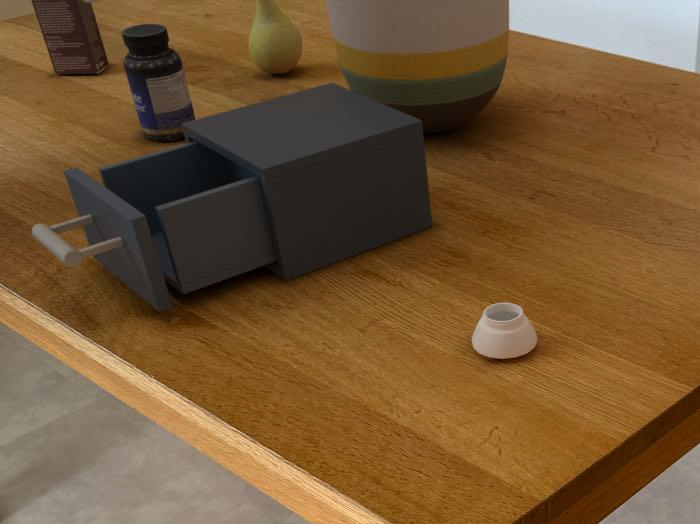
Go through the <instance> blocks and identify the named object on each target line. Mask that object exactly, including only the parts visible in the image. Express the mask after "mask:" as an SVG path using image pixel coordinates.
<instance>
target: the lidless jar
mask: <svg viewBox="0 0 700 524" xmlns="http://www.w3.org/2000/svg"><path fill="white" fill-rule="evenodd" d="M537 343H538V334H537V332H536V330H535V327H534V326H533V325H532V323H531V321H530V319H529V318H528V316H526V314H525V312H524V309H523V308H522V307H521V306H519V305H518V304H515V303H512V302H496V303H493V304H490V305H487V307H486V308H484V309H483V312H482V316H481V317H480V319H479V321H478V323H477V325H476V327H475V328H474V331H473V333H472V335H471V344H472V348H473V349H474V350H475V351H476V352H477V353H478V354H480V355H482V356H485V357H487V358H490V359H491V358H492V359H500V360H501V359H502V360H504V359H513V358H518V357H521V356H524V355H526V354H528V353H529V352H531V351H532V350H534V349H535V347H536V346H537Z"/></svg>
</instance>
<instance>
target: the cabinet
mask: <svg viewBox="0 0 700 524" xmlns="http://www.w3.org/2000/svg"><path fill="white" fill-rule="evenodd" d="M195 119H196V120H193V121H189V122H185V123H182V124H181V126H182V129H183V133H184V137H185V138H184V140H185V143H188V142H192V141H195V140H196V141H198V142H199V143H201V144H203V145H205V146H206V147H208V148H210V149H212V150H213V151H215V152H217V153H219V154H220V155H222V156H224V157H226V158H227V159H229V160H231V161H233V162H234V163H236V164H238V165H240V166H241V167H243V168H245V169H247V170H249V171H250V172H252V173H254V174H256V175H257V176H259V177H260V179H261V184H262V189H263V193H264V198H265V203H266V207H267V212H268V217H269V221H270V226H271V231H272V235H273V240H274V245H275V249H276V254H277V259H278V261H275V262H272V263H270V264H267V265H264V266H263V267H265V268H267V269H268V270H269V271H271V272H273V273H274V274H276V275H277V276H279V277H280V278H282V279H283V280H284V281H289V280H292V279H295V278H298V277H301V276H303V275H306V274H308V273H311V272H314V271H317V270H320V269H322V268H324V267H325V268H326V267H327V266H330V265H333V264H335V263H339V262H341V261H343V260H345V259H348V258H351V257H354V256H356V255H359V254H362V253H365V252H368V251H370V250H374V249H376V248H378V247H381V246H383V245H386V244H389V243H392V242H394V241H397V240H400V239H402V238H405V237H408V236H411V235H413V234H416V233H418V232H421V231H423V230H427V229H429V228H432V227H433V218H432V208H431V198H430V189H429V187H430V186H429V178H428V168H427V158H426V150H425V149H426V148H425V139H424V133H423V131H422V130H423V128H422V120H420V119H417V118H415V117H413V116H410V115H408V114H405V113H403V112H401V111H398V110H396V109H394V108H391V107H389V106H387V105H384V104H382V103H379V102H377V101H375V100H372V99H370V98H368V97H365V96H363V95H360V94H358V93H356V92H353V91H351V89H350V88H346V87H344V86H342V85H339V84H337V83H334V82H328V83H326V84H321V85H317V86H314V87H310V88H306V89H303V90H300V91H295V92H292V93H289V94H285V95H281V96H278V97H274V98H271V99H267V100H263V101H259V102H255V103H251V104H248V105H244V106H240V107H238V108H237V107H236V108H234V109H229V110H225V111H222V112H219V113H215V114H211V115H208V116H204V117H200V118H195Z"/></svg>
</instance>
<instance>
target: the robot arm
mask: <svg viewBox="0 0 700 524" xmlns="http://www.w3.org/2000/svg"><path fill="white" fill-rule="evenodd" d="M82 1H84V2H86V3H91V4H92V3H96V2H100V1H101V0H82Z"/></svg>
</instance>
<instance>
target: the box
mask: <svg viewBox="0 0 700 524" xmlns="http://www.w3.org/2000/svg"><path fill="white" fill-rule="evenodd" d="M30 1H31V4H32V7H33V10H34V13H35V16H36V20H37V22H38V25H39V29H40V31H41V34H42V37H43V40H44V43H45V46H46V50H47V52H48V56H49V58H50V59H49V60H50V62H51V65H52V68H53V71H54V74H55V75H76V74H78V75H79V74H80V75H81V74H82V75H85V74H86V75H87V74H88V75H90V74H91V75H92V74H93V75H98V74H100V73H102V72H103V71H104V70H106V68H108V66H109V65H110V62H109V59H108V56H107V53H106V48H105V46H104V43H103V38H102V36H101V32H100V29H99V25H98V21H97V18H96V15H95V11H94V8H93V5H92V2H91V3H86V2H84V1H82V0H30Z"/></svg>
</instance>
